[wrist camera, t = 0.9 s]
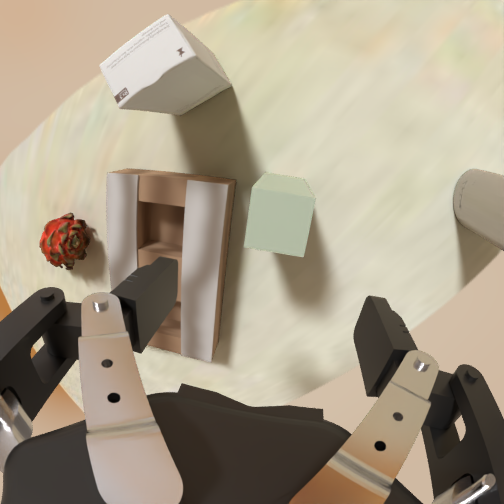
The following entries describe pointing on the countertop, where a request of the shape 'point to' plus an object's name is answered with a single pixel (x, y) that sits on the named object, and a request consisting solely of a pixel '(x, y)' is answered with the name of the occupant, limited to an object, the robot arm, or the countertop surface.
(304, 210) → the square peg
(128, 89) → the skincare box
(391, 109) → the countertop surface
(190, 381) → the countertop surface
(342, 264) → the countertop surface
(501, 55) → the countertop surface
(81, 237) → the dragon fruit
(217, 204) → the block
